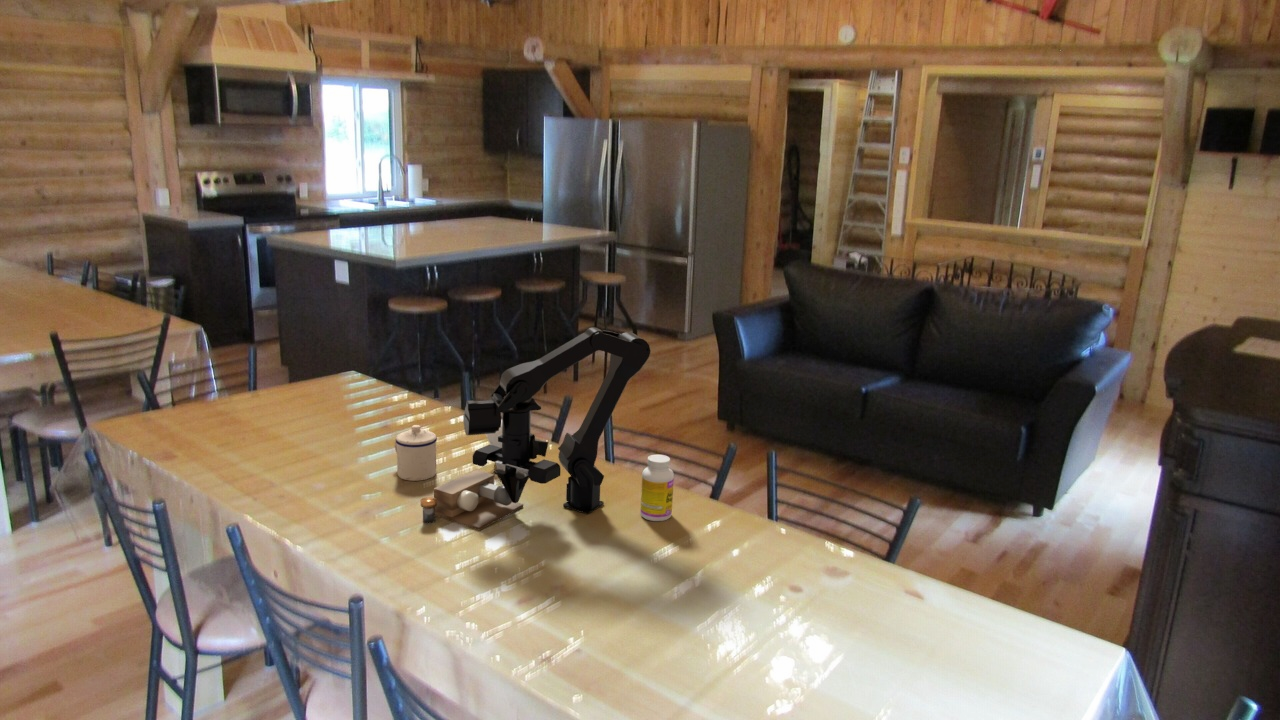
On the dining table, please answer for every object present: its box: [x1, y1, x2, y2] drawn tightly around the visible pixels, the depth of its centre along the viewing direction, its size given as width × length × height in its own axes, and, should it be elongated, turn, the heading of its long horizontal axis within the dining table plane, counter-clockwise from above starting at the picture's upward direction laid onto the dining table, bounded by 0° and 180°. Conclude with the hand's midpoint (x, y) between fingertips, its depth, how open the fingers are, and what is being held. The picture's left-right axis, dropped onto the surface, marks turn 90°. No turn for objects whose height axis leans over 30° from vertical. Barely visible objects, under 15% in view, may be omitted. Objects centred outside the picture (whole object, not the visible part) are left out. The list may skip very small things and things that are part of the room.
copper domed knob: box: [420, 496, 437, 524], centre depth 174 cm, size 3×3×4 cm
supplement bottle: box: [639, 454, 675, 522], centre depth 181 cm, size 7×7×13 cm
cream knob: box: [457, 490, 479, 511], centre depth 179 cm, size 9×4×4 cm, turn 59°
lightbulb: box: [485, 419, 502, 448], centre depth 205 cm, size 6×6×11 cm
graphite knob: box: [479, 482, 512, 506], centre depth 182 cm, size 9×4×4 cm, turn 59°
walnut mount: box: [433, 469, 524, 531], centre depth 180 cm, size 13×14×6 cm
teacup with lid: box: [394, 424, 438, 482], centre depth 198 cm, size 12×9×12 cm
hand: (515, 502), depth 179 cm, fingers closed
